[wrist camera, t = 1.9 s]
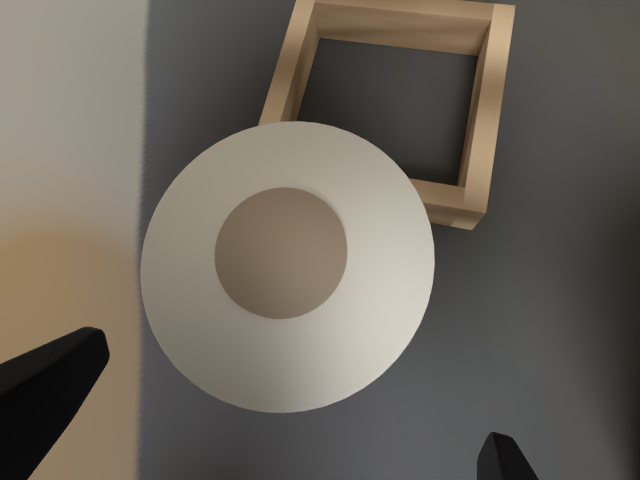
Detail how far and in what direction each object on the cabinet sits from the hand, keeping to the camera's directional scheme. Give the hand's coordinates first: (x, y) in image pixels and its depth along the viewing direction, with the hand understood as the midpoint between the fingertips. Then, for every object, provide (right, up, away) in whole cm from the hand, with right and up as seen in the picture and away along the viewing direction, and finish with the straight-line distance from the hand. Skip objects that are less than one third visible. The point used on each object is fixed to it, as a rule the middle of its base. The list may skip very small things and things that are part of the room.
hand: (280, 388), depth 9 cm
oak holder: (+4, +10, +13) cm, 17 cm away
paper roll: (+2, 0, +10) cm, 10 cm away
